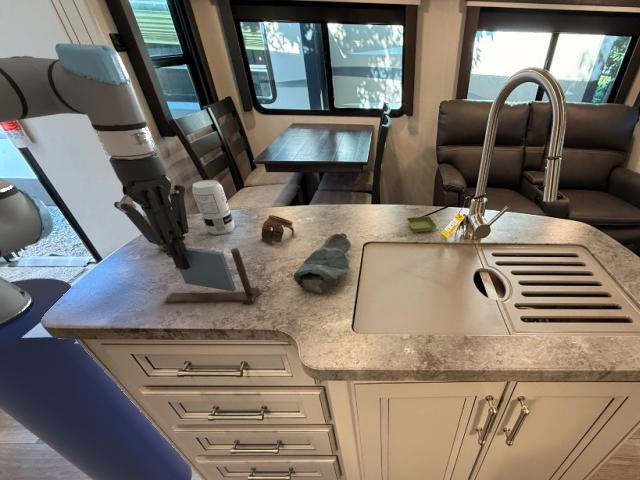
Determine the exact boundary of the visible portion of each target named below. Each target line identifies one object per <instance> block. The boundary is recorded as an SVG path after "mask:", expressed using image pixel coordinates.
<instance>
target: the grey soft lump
mask: <svg viewBox="0 0 640 480" xmlns="http://www.w3.org/2000/svg"><path fill="white" fill-rule="evenodd" d="M351 247H352V243H351V241H350V240H349V239H348V235H347V234H346V233H334V234H331V235H330V236H329V237H328V238H327V239H326V240H325V241H324V243H323V244H322V245H321V247H319V248H318V249H316V250H315V251H313V252H312V253H311V254H310V255H309V257H307V258H306V259H305V260H304V261H303V262H302V264H301V265H300V266H299V267H298V269H297V270H296V271H295V272H294V274H293V279H294V281H295V282H296V283H297V285H298V286H299V287H301V288H302V289H304V290H306V291H308V292H312V293H318V294H326V293H329V292H332V291H333V290H335V289H336V288H337V287H338V286H339V285H340V283H341V281H342V280H343V278H344V277H345V275H346V274H347V272H348V270H349V266H350V259H349V257H348V256H347V253H348V252H349V251H350V249H351Z"/></svg>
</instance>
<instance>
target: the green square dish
mask: <svg viewBox="0 0 640 480" xmlns="http://www.w3.org/2000/svg"><path fill="white" fill-rule="evenodd" d="M406 221H407V223H408V224H409V226H410V228H411V229H412V231H413V232H414V233H420V232H421V233H422V232H432V231H435V229H437V227H438V225H437V224H436V223H435V221H434V219H433V218H432V217H431V216H430V215H425V216H413V217H411V216H409V217H406Z"/></svg>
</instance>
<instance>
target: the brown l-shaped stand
mask: <svg viewBox="0 0 640 480" xmlns="http://www.w3.org/2000/svg"><path fill="white" fill-rule="evenodd" d="M230 253H231V255H232V259H233V262H234V265H235V267H236V269H237V273H238V276H239V279H240V282H241V285H242V287H243V290H244V291H227V292H173V293H171V294H170V295H169V296H168V297H167V299H165V303H166V304H172V303H174V304H175V303H177V304H179V303H184V304H185V303H225V302H227V303H228V302H231V303H233V302H235V303H236V302H242V304H243V305H254V304H255V302H256V300H257V298H258V296H259V293H260V288H259V287H252V286H251V283H250V280H249V276H248V274H247V270H246V268H245V265H244V261H243V258H242V255H241V252H240V249H239V248H237V247H234V248H231V250H230Z"/></svg>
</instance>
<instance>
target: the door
mask: <svg viewBox="0 0 640 480" xmlns="http://www.w3.org/2000/svg"><path fill="white" fill-rule="evenodd" d="M185 247H186V252H184V253H185V255H186V258H187V260H188V262H189V265H190V268H188V269H187V270H183V269H180V268H176V265H175V266H174V269H175V271H177V272H179V273H180V275H181V277H182V279H183V281H184V283H185V284H186V285H191V286H198V287H204V288H208V289H209V288H210V289H215V290H221V291H222V290H223V291H227V292H236V290H237V288H236V285H235V281H234V279H233V276H232V274H231V271H230V268H229V264H228V262H227V260H226V256H225V254H224V252H221V251H216V250H215V251H214V250H208V249H203V248H202V249H201V248H195V247H187V246H185Z"/></svg>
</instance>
